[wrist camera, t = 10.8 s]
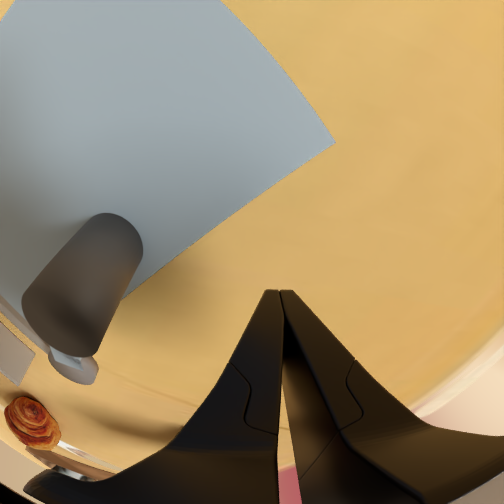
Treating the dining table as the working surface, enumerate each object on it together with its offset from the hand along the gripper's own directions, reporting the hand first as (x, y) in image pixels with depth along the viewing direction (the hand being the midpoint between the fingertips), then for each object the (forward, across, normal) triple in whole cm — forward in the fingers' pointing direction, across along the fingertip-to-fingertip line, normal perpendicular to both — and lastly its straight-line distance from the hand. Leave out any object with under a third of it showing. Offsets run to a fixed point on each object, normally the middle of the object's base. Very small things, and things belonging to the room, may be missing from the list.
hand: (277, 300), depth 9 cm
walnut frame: (+6, +43, +74) cm, 86 cm away
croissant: (+7, +34, +33) cm, 48 cm away
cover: (+2, +9, -2) cm, 9 cm away
